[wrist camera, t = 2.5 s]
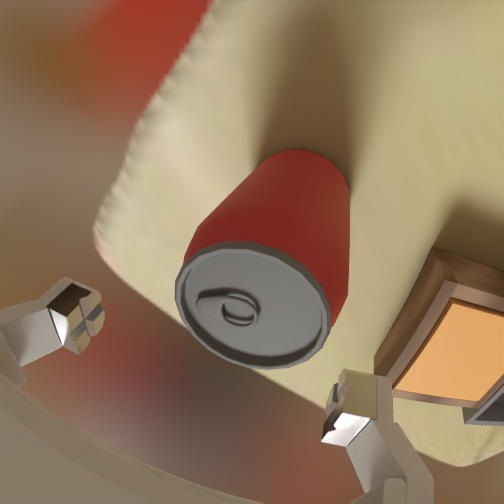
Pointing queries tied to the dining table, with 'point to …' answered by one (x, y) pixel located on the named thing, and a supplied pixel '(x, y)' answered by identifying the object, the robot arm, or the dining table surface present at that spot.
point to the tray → (487, 411)
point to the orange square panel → (458, 354)
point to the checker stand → (437, 316)
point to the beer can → (270, 264)
